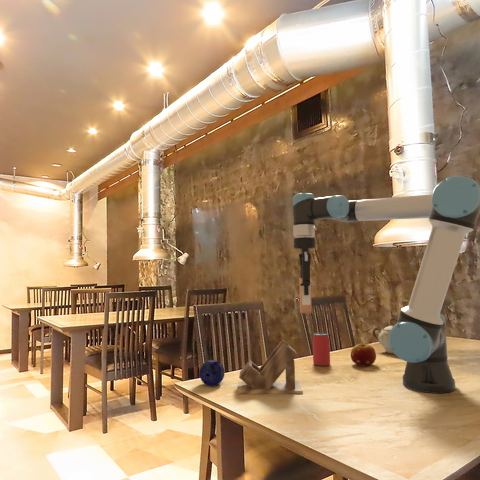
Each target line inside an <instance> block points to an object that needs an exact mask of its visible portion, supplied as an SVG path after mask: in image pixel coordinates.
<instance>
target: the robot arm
mask: <svg viewBox="0 0 480 480" xmlns="http://www.w3.org/2000/svg"><path fill="white" fill-rule="evenodd" d="M292 212H293V214H292V216H293V219H292V220H293V225H292V227H293V229H292V231H293V234H292V235H293V237H294V238H293V249H295V250H300V253H299V254H298V260H299V266H300V269H299V270H300V278H302V284H300V283H299V287H300V286H302V305H310V283H311V284H312V280H311V281H310V278H311V257H312V256H311V255H312V254H311V253H310V251H309V250H310V249H311V250H312V249H316V237H315V236H316V232H315V231H317V228H316V227H315V225H316V224H315V223H316V222H315V221H317V220H334V221H339V222H342V223H346V224H347V223H353V222H362V221H363V222H366V221H385V220H386V221H388V220H412V219H414V220H415V219H417V220H418V219H428V221H429V223H430V224H431V227H432V228H431V231H430V235H429V237H428V240H427V244H426V248H425V249H424V250H425V251H424V253H423V256H422V260H421V264H420V267H419V269H418V272H417V276H416V279H415V282H414V285H413V289H412V292H411V294H410V298H409V301H408V305H406V306H404V307H401V308H400V312H399V315H398V318H397V320H398V321H397V322H396V323H397V324H396V323H395V324H396V325H394V327H393V328H392V329H391V331H390V333H389V344H390V347H391V349H392V351H393V352H394V353H395V354H394V355H395V356H397V358H399V359H400V360H402V361H404V362H406V364H405V368H404V374H402V385H403V386H404V387H406V388H408V389H411V390H413V391H418V392H424V393H434V394H435V393H436V394H440V393H442V394H443V393H444V392H445V393H451V392H454V391H456V380H455V378H453V375H452V371H451V369H450V366H449V365H450V364H449V363H448V348H447V329H446V328H447V323H446V319H445V318H446V317H445V316H444V315H443V314H442V313H441V312H442V309H443V306H444V305H443V304H444V302H445V299H446V295H447V293H448V290H449V286H450V284H451V280H452V277H453V275H454V272H455V268H456V266H457V262H458V258H459V255H460V253H461V249H462V246H463V243H464V240H465V237H466V235H467V234H470V233H471V232H473V231H474V229H475V226H476V223H477V220H478V218H479V217H480V183H478V182H477V181H476V180H474V179H473V178H470V177H467V176H464V175H453V176H449V177H446V178H444V179H443V180H441V181H439V182H438V184H437V185H436V186H435V187H434V189H433V192H432V193H431V194H420V195H419V194H418V195H409V196H405V195H404V196H395V197H392V196H391V197H381V198H368V199H355V200H348V198H347V197H346V195H343V194H341V195H337V194H334V195H330V196H324V197H315V195H314V194H313V193H310V192H300V193H296V194H294V196H293V198H292ZM453 390H454V391H453ZM450 391H451V392H450Z"/></svg>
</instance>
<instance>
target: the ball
mask: <svg viewBox="0 0 480 480" xmlns="http://www.w3.org/2000/svg"><path fill="white" fill-rule="evenodd" d="M199 378H200V380H201V382H202V383H203V384H205V385H206V386H208V387H210V386H211V387H214V386H217V385H219V384H221V383H223V382H222V381H223V380H224V378H225V369H224V366H223V364H222V363H221V362H220V361H218V360H217V359H216V360H215V359H209V360H208V359H207V360H206V361H205V362H203V364H202V365H201V367H200V368H199Z"/></svg>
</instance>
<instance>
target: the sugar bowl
mask: <svg viewBox="0 0 480 480" xmlns="http://www.w3.org/2000/svg"><path fill="white" fill-rule="evenodd" d="M392 321H395V322H396V323H395V324H393V322H392ZM397 321H398V319H396V318H393V317H392V318H391V319H390V320H389V324H390V325H388V326H386V327H384V328H380V327H374V328H373V329H372V335H373V337H375V339H376V340H377V342H379V344H380V345H381V346H382V348H384V350H385V352H386V353H388V354H394V355H395V353H394V352H393V351H392V349H391V347H390V344H389V333H390V331H391V329H392V328H393V327H394V325H396V324H397ZM376 331H379V333H378V336H377V335H376Z"/></svg>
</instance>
